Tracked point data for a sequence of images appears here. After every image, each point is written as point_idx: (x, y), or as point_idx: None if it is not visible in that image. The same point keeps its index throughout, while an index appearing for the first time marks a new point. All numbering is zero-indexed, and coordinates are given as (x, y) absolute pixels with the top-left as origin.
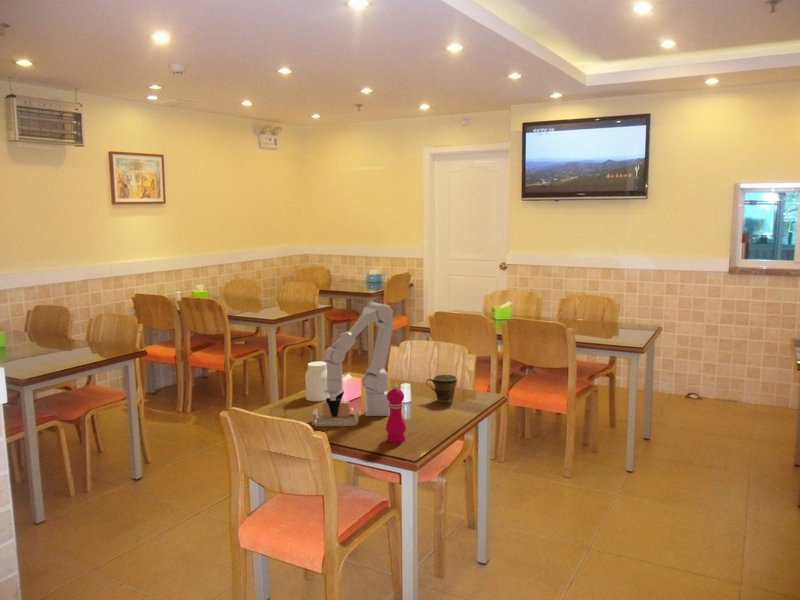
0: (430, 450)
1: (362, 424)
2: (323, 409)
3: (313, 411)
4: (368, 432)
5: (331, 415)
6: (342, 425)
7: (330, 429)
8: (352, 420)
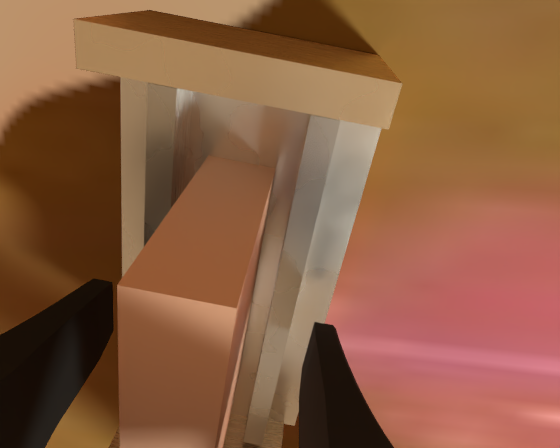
0: None
1: None
2: (162, 229)
3: (226, 51)
4: None
5: (87, 283)
6: None
7: (39, 200)
8: None
